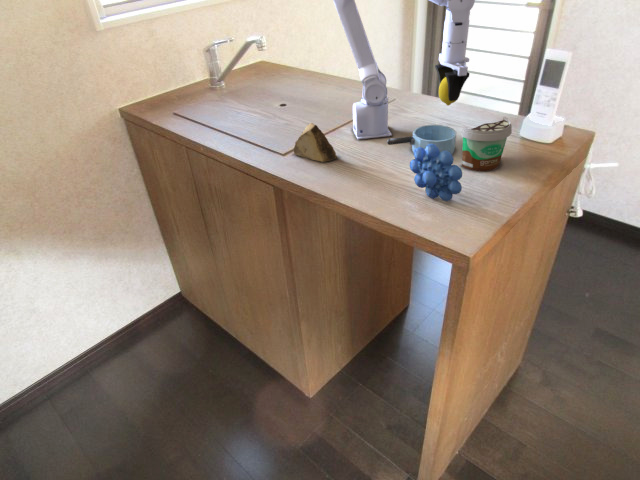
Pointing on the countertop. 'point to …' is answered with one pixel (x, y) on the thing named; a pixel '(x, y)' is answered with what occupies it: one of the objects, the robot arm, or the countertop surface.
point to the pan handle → (401, 140)
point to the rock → (314, 145)
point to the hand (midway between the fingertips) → (449, 96)
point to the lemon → (444, 92)
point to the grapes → (436, 172)
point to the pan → (435, 137)
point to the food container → (485, 145)
